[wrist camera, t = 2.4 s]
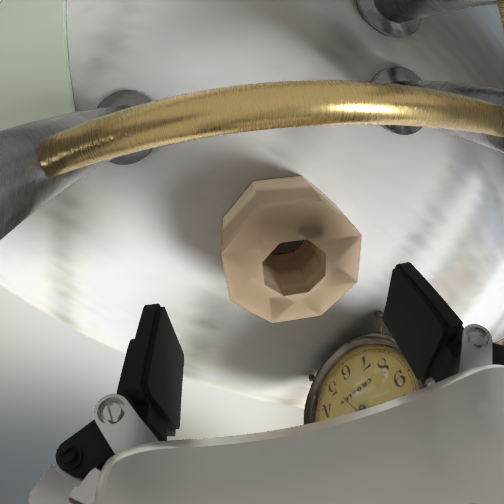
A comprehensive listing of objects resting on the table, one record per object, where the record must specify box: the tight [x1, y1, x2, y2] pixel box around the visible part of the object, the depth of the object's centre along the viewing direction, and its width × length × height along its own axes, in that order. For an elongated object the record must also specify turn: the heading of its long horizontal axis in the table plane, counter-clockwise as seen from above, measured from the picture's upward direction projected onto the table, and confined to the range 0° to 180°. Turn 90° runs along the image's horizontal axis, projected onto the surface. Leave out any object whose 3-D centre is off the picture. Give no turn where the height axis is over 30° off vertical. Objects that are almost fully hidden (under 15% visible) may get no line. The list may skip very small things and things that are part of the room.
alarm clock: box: [304, 311, 435, 425], centre depth 16 cm, size 11×5×16 cm, turn 147°
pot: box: [221, 176, 362, 323], centre depth 15 cm, size 6×6×4 cm
